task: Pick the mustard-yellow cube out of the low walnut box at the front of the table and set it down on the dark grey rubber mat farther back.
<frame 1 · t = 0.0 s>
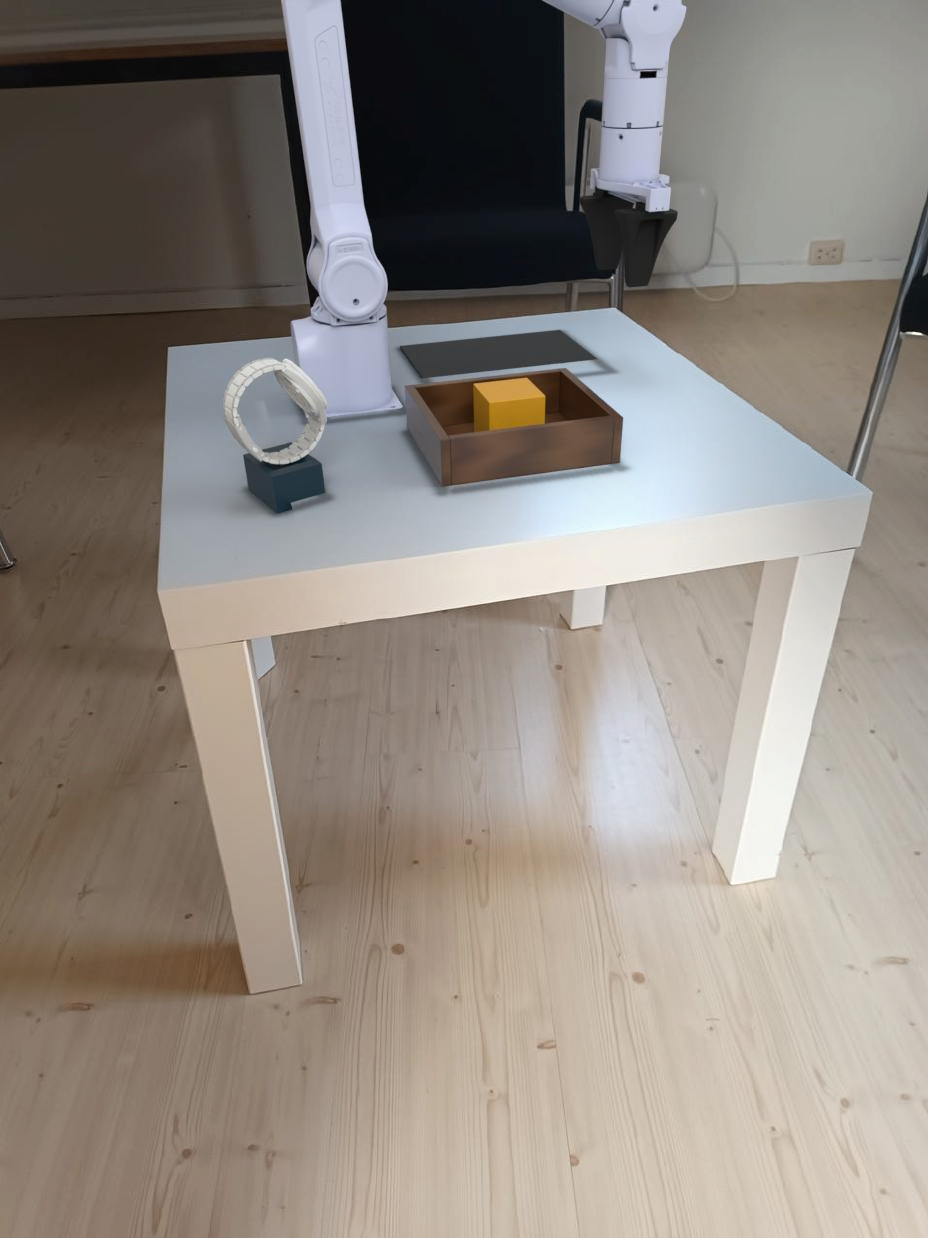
hand: (621, 277, 93), 10 cm above the table, tool pointing down, fingers open, 7 cm apart
mat: (501, 359, 104), on the table
box: (508, 450, 82), on the table
watch: (287, 495, 76), on the table
cube: (508, 443, 82), point 1 cm above the table, touching box
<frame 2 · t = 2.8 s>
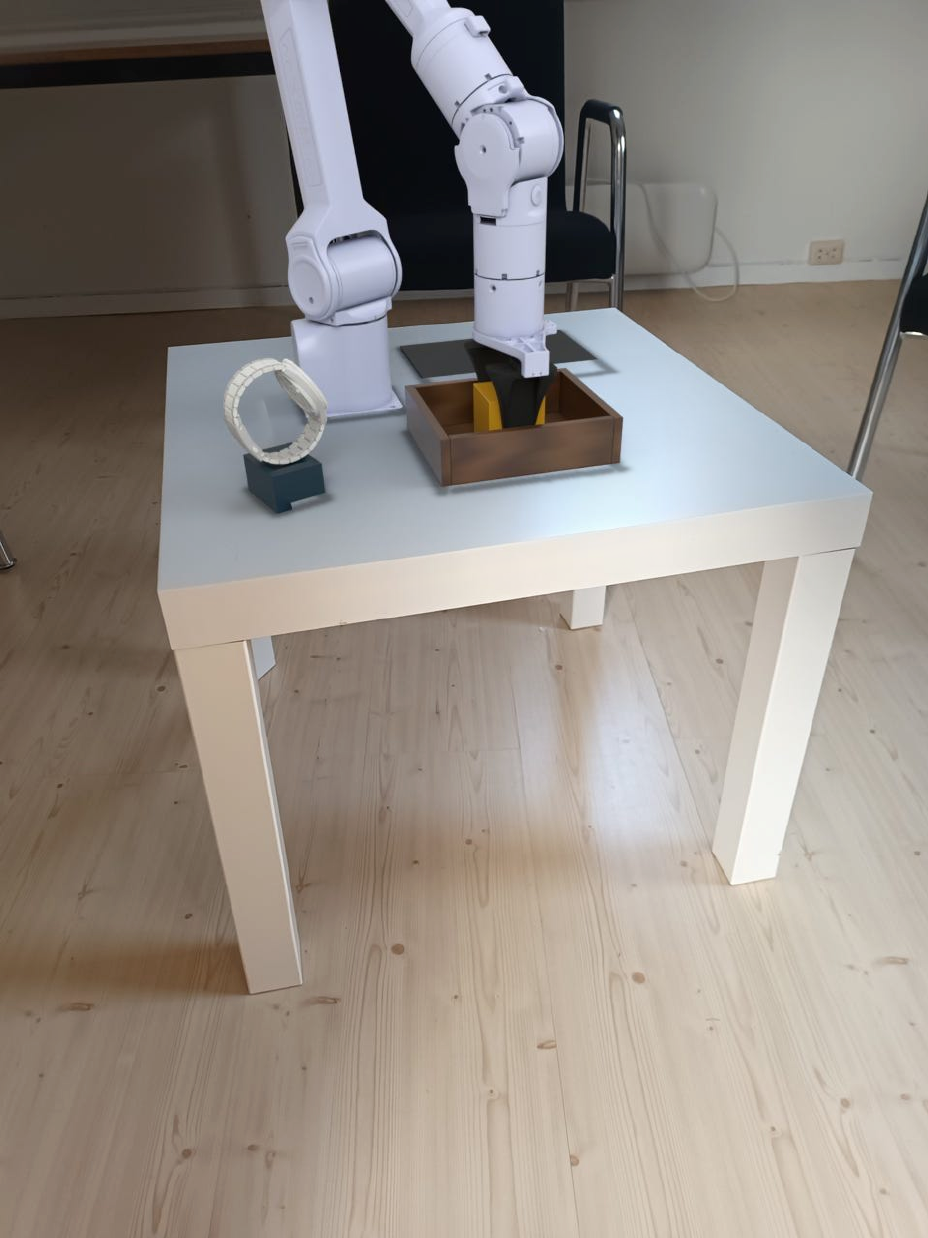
hand: (508, 432, 82), 2 cm above the table, tool pointing down, fingers closed on cube, 5 cm apart
cube: (508, 443, 82), point 1 cm above the table, touching box, gripper
everything else where it was.
when the fingers open (1 cm above the table, at t = 8.4 s): cube stays where it is, resting on mat.
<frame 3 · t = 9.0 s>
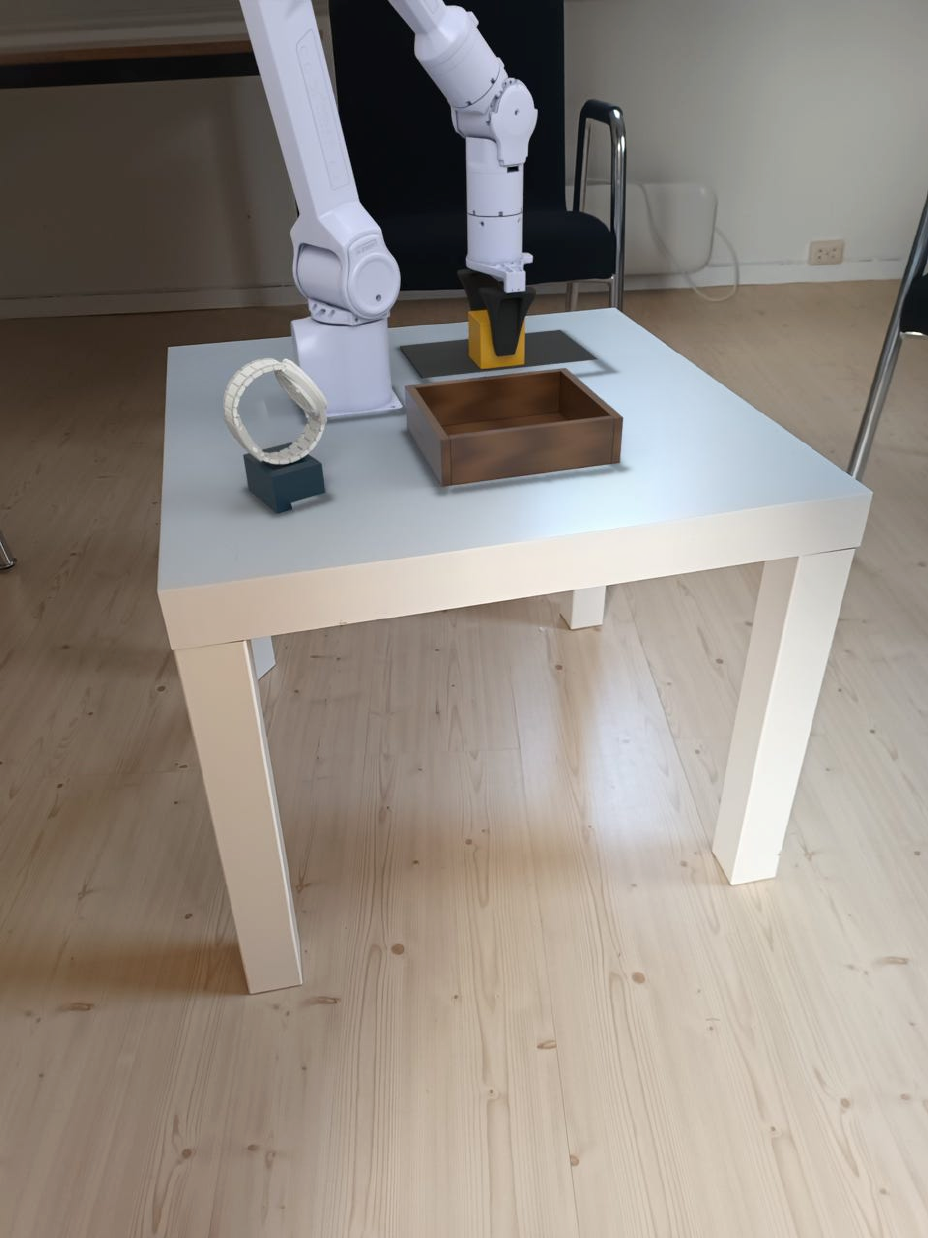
hand: (495, 344, 102), 2 cm above the table, tool pointing down, fingers open, 7 cm apart
cube: (496, 360, 103), resting on mat
everything else where it was.
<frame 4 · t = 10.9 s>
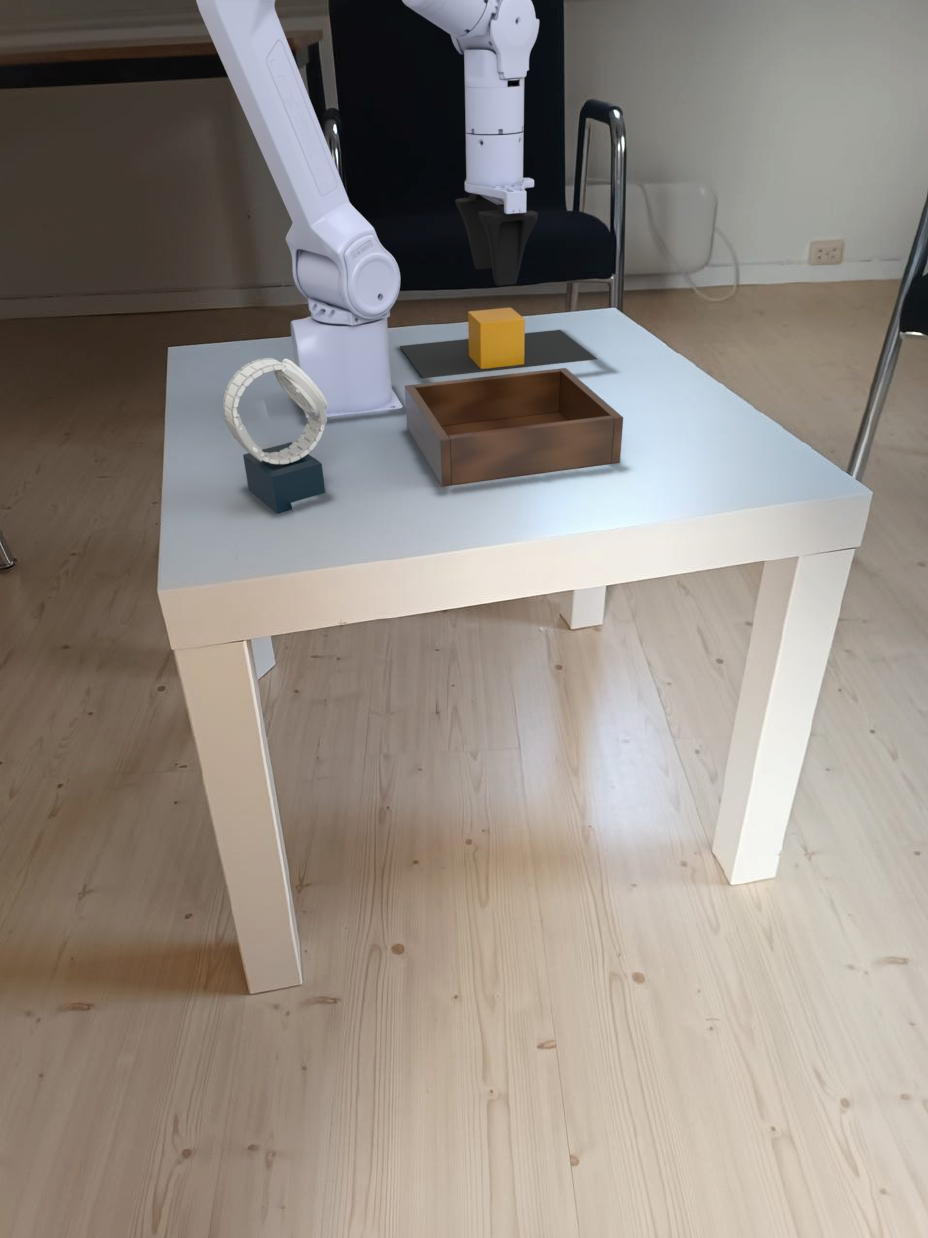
hand: (494, 275, 98), 9 cm above the table, tool pointing down, fingers open, 7 cm apart
nothing on the table moved.
at the end: cube inside the target area on the mat (1.3 cm from its centre), point 0.3 cm above the mat's base; the gripper is holding nothing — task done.
